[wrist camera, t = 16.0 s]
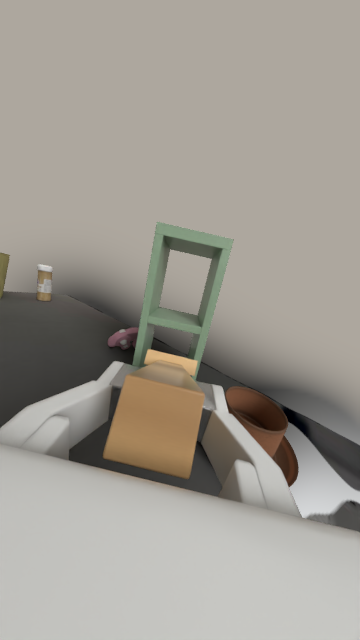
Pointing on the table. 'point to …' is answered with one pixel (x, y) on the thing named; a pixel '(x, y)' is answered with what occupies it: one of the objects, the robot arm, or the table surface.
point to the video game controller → (124, 338)
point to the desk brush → (157, 416)
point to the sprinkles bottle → (44, 282)
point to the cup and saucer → (264, 426)
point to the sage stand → (151, 311)
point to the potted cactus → (3, 270)
